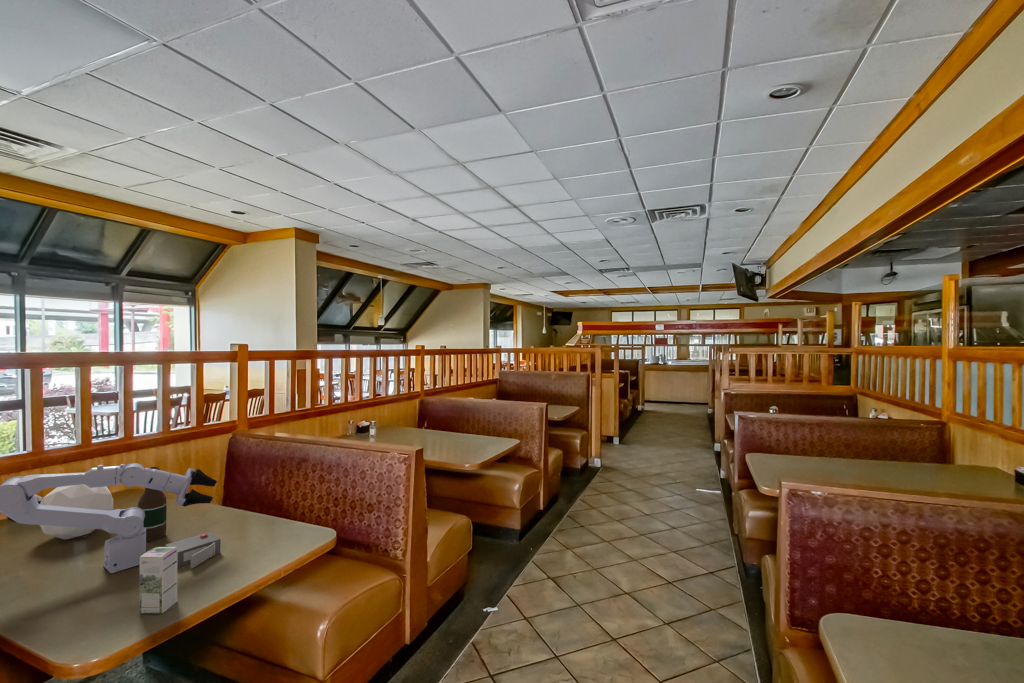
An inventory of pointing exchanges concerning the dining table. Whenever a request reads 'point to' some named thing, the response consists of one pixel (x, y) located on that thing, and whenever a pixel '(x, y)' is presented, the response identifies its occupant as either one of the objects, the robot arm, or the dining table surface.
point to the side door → (202, 555)
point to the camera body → (194, 546)
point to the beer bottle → (154, 512)
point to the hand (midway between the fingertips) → (213, 491)
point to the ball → (76, 506)
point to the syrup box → (158, 580)
